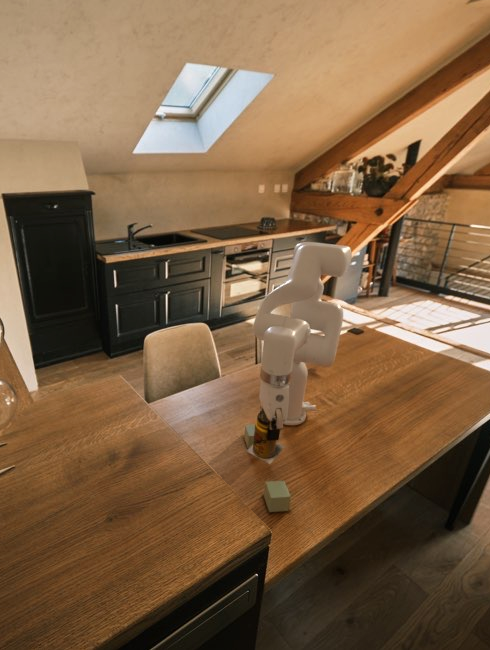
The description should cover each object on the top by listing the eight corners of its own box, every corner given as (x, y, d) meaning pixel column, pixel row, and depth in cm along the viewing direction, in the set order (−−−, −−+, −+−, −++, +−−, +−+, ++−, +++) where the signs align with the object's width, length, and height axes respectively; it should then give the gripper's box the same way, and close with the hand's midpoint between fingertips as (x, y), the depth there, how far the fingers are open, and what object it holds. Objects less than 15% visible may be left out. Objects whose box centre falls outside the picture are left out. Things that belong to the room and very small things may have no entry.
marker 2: (281, 494, 101) (284, 480, 99) (288, 511, 97) (290, 496, 95) (263, 495, 101) (265, 481, 99) (269, 512, 96) (271, 497, 94)
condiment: (246, 451, 106) (249, 416, 101) (261, 435, 112) (265, 402, 107) (270, 464, 102) (274, 429, 97) (284, 447, 107) (289, 412, 103)
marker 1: (259, 436, 122) (260, 424, 120) (263, 448, 117) (265, 435, 115) (243, 437, 121) (245, 425, 119) (247, 449, 117) (249, 436, 115)
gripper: (302, 393, 89) (293, 453, 96) (279, 356, 105) (272, 410, 112) (271, 395, 88) (263, 455, 95) (252, 357, 104) (247, 411, 111)
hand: (268, 430), depth 103 cm, fingers closed on condiment, 6 cm apart
